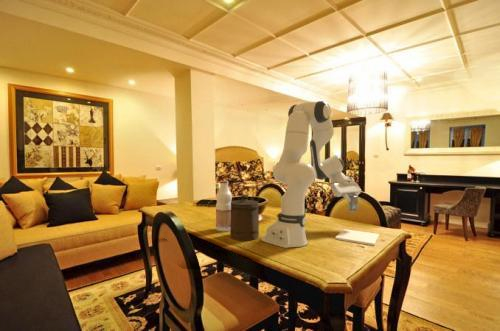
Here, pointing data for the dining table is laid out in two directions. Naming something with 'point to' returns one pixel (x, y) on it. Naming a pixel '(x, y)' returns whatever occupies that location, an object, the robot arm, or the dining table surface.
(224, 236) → the dining table surface
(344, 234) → the cream board
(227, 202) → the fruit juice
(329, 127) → the robot arm
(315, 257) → the dining table surface
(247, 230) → the wooden container
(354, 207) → the steel tin
